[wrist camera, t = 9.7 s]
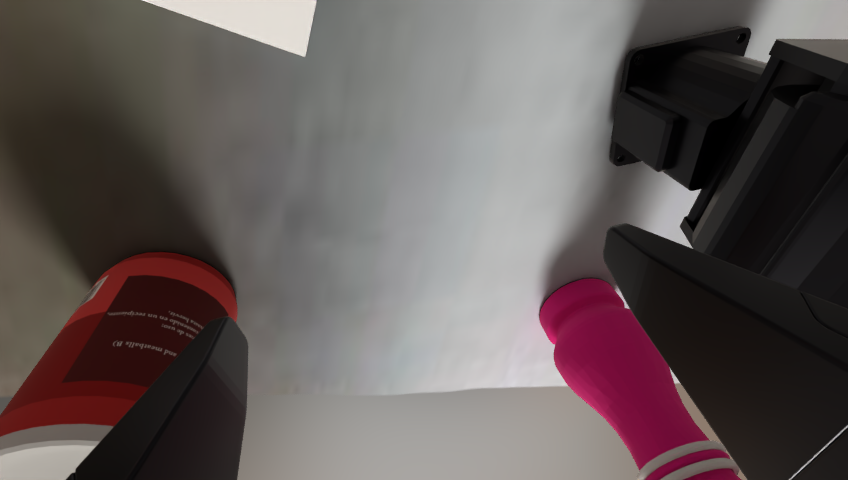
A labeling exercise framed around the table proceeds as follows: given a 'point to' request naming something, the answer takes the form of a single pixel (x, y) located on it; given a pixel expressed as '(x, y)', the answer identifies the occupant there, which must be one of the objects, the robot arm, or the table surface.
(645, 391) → the pepper mill
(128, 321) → the canned food
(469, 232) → the table surface
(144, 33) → the table surface
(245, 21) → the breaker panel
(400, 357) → the table surface
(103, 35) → the table surface
